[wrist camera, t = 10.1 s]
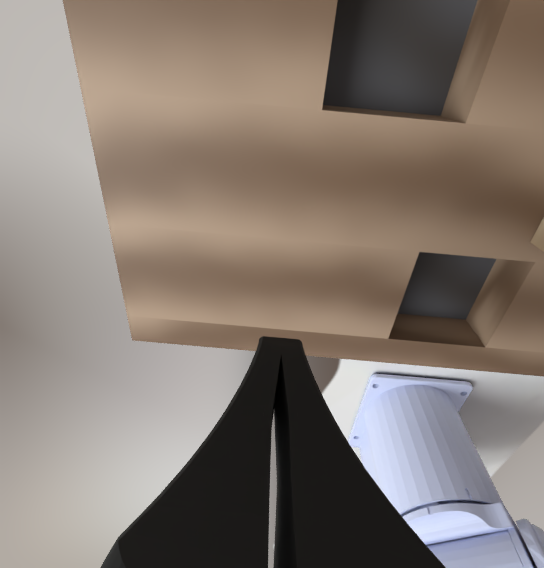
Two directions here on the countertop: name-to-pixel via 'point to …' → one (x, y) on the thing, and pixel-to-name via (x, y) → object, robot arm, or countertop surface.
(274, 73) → the trap deck
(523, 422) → the countertop surface
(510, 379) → the countertop surface
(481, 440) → the countertop surface
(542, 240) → the beech cube
